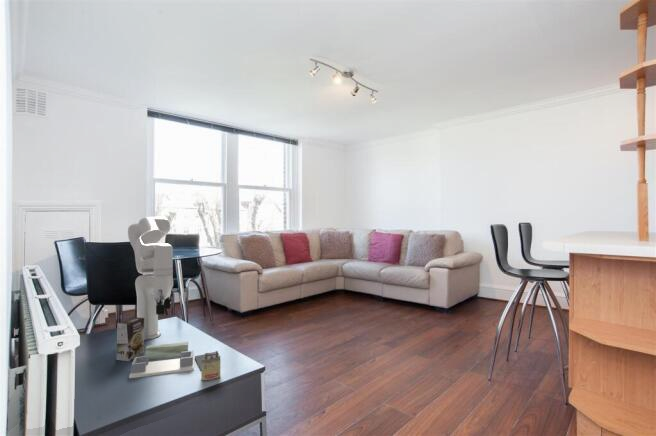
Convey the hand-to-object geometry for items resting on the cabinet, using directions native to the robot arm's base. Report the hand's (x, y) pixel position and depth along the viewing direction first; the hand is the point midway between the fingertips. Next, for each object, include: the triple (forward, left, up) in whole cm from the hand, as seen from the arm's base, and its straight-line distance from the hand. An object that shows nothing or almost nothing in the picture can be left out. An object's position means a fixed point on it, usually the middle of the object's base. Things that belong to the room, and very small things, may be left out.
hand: (163, 311), depth 150 cm
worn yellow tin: (+27, +20, -20) cm, 39 cm away
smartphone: (+12, +18, -21) cm, 30 cm away
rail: (0, +2, -20) cm, 20 cm away
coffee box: (-4, -13, -20) cm, 25 cm away
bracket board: (+12, +2, -20) cm, 24 cm away
